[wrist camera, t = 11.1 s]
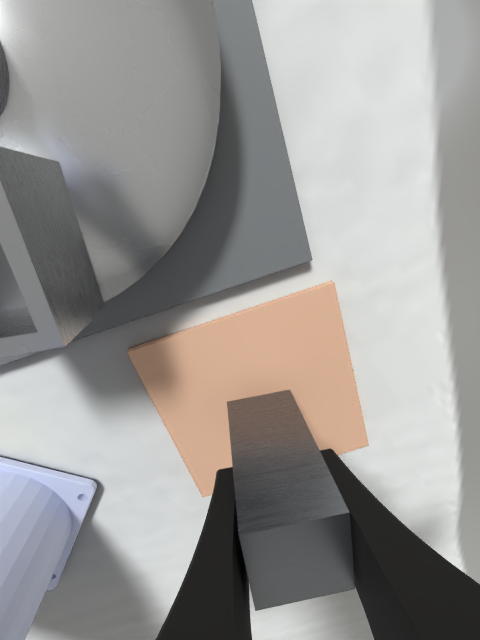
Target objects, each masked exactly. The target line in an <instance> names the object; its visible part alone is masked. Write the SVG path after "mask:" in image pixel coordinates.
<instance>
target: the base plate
mask: <svg viewBox="0 0 480 640" xmlns="http://www.w3.org/2000/svg"><path fill="white" fill-rule="evenodd" d="M214 5H215V11H216V17H217V22H218V34H219V47H220V60H221V88H220V113H219V125H218V132H217V139H216V146H215V153H214V157H213V161H212V165H211V169H210V172H209V176H208V180H207V183H206V186H205V188H204V191H203V193H202V196H201V198H200V200H199V203H198V205H197V208H196V210H195V211H194V213H193V215H192V217H191V218H190V220H189V222H188V224H187V225H186V227H185V229H184V231H183V232H182V233H181V234H180V236H179V237H178V238H177V240H176V241H175V242H174V244H173V245H172V246H171V247H170V249H169V250H168V251H167V252H166V253H165V254H164V256H163V257H162V258H161V259H160V260H159V261H158V262H157V263H156V264H155V265H154V266H153V267H152V268H151V269H150V270H149V271H148V272H147V273H146V274H145V275H144V276H143V277H141V278H140V279H139V280H138V281H136V282H135V283H134V284H132V285H131V286H129V287H128V288H127V289H125V290H124V291H123V292H121V293H120V294H118V295H116V296H115V297H113V298H111V299H109V300H107V301H105V302H104V304H105V308H104V309H103V310H102V311H101V312H100V313H99V314H98V315H97V316H96V317H95V318H94V319H93V320H92V321H91V322H90V323H89V324H88V325H87V326H86V327H85V328H84V329H83V330H82V331H81V332H80V333H79V334H78V335H77V336H76V337H75V338H74V339H73V340H72V341H74V340H77V339H80V338H83V337H86V336H89V335H92V334H95V333H98V332H101V331H104V330H106V329H109V328H112V327H115V326H118V325H121V324H124V323H127V322H130V321H133V320H136V319H139V318H142V317H145V316H148V315H151V314H154V313H157V312H160V311H163V310H166V309H169V308H172V307H175V306H177V305H180V304H183V303H186V302H189V301H192V300H195V299H198V298H201V297H204V296H207V295H210V294H213V293H216V292H219V291H222V290H225V289H228V288H231V287H234V286H237V285H240V284H243V283H246V282H249V281H251V280H254V279H257V278H260V277H263V276H266V275H269V274H272V273H275V272H278V271H281V270H284V269H287V268H290V267H293V266H296V265H299V264H302V263H305V262H308V261H311V260H312V256H311V252H310V248H309V243H308V239H307V235H306V230H305V226H304V222H303V218H302V213H301V209H300V205H299V200H298V196H297V192H296V188H295V183H294V179H293V175H292V170H291V166H290V162H289V157H288V153H287V149H286V145H285V140H284V136H283V132H282V127H281V123H280V119H279V114H278V110H277V106H276V102H275V97H274V93H273V89H272V84H271V80H270V76H269V71H268V67H267V63H266V59H265V54H264V50H263V46H262V41H261V37H260V33H259V29H258V24H257V20H256V16H255V11H254V7H253V3H252V0H214ZM43 351H44V350H43ZM38 352H41V351H37V352H31V353H25V354H19V355H12V356H6V357H0V365H3V364H6V363H9V362H12V361H15V360H18V359H21V358H24V357H27V356H30V355H32V354H35V353H38Z"/></svg>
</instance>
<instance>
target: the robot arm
mask: <svg viewBox="0 0 480 640" xmlns="http://www.w3.org/2000/svg"><path fill="white" fill-rule="evenodd" d="M320 452H321V454H322V457H323V459H324V461H325V463H326V465H327V467H328V469H329V471H330V473H331V475H332V477H333V479H334V481H335V483H336V485H337V487H338V489H339V492H340V494H341V496H342V498H343V500H344V502H345V504H346V506H347V508H348V510H349V512H350V525H351V538H352V552H353V566H354V579H355V587H356V589H357V592H358V594H359V597H360V599H361V602H362V605H363V607H364V610H365V613H366V616H367V619H368V622H369V625H370V628H371V631H372V634H373V636H374V639H375V640H480V584H478V583H477V582H475V581H474V580H473V579H472V578H470V577H469V576H467V575H466V574H465V573H463V572H462V571H461V570H459V569H458V568H457V567H455V566H454V565H452V564H451V563H450V562H448V561H447V560H446V559H445V558H443V557H442V556H441V555H440V554H438V553H437V552H436V551H435V550H433V549H432V548H431V547H430V546H428V545H427V544H426V543H425V542H424V541H422V540H421V539H420V538H419V537H418V536H416V535H415V534H414V533H413V532H412V531H411V530H409V529H408V528H407V527H406V526H405V525H404V524H403V523H402V522H400V521H399V520H398V519H397V518H396V517H395V516H394V515H393V514H392V513H391V512H390V511H389V510H388V509H387V508H386V507H385V506H383V505H382V504H381V503H380V502H379V501H378V500H377V499H376V498H375V497H374V495H373V494H372V493H371V492H370V491H369V490H368V489H367V488H366V487H365V486H364V485H363V484H362V483H361V482H360V481H359V480H358V479H357V478H356V476H355V475H354V474H353V473H352V472H351V471H350V470H349V469H348V467H347V466H346V465H345V464H344V463H343V462H342V460H341V459H340V458H339V457H338V455H337V454H336V453H335V452H334V450H332V449H331V448H330V449H325V450H320ZM96 489H97V484H96V483H95V482H94V481H93V480H91V479H87V478H83V477H79V476H75V475H71V474H67V473H63V472H59V471H55V470H51V469H47V468H43V467H39V466H35V465H31V464H27V463H23V462H19V461H15V460H11V459H7V458H3V457H0V640H25V639H26V636H27V634H28V632H29V629H30V627H31V625H32V622H33V620H34V618H35V615H36V613H37V611H38V608H39V606H40V604H41V601H42V599H43V597H44V594H45V592H46V591H51V590H53V589H55V588H56V586H57V584H58V581H59V579H60V576H61V574H62V572H63V569H64V567H65V564H66V562H67V559H68V557H69V555H70V552H71V550H72V547H73V545H74V542H75V540H76V537H77V535H78V533H79V530H80V528H81V525H82V523H83V520H84V518H85V515H86V513H87V511H88V508H89V506H90V503H91V501H92V498H93V496H94V493H95V491H96ZM84 494H85V495H84ZM156 640H252V635H251V623H250V605H249V579H248V575H247V570H246V566H245V561H244V557H243V552H242V548H241V543H240V539H239V532H238V521H237V510H236V499H235V488H234V477H233V467H229V468H224V469H219V470H218V471H217V472H216V479H215V485H214V489H213V494H212V498H211V502H210V506H209V509H208V513H207V516H206V520H205V523H204V526H203V529H202V533H201V535H200V538H199V541H198V544H197V547H196V550H195V552H194V555H193V558H192V561H191V563H190V566H189V568H188V571H187V573H186V576H185V578H184V580H183V583H182V585H181V587H180V590H179V592H178V594H177V597H176V599H175V601H174V603H173V605H172V607H171V609H170V612H169V614H168V616H167V618H166V620H165V622H164V624H163V626H162V628H161V630H160V632H159V634H158V636H157V638H156Z"/></svg>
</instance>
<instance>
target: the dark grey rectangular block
mask: <svg viewBox="0 0 480 640" xmlns="http://www.w3.org/2000/svg"><path fill="white" fill-rule="evenodd" d="M227 410H228V421H229V432H230V443H231V454H232V466H233V477H234V488H235V499H236V510H237V521H238V532H239V539H240V543H241V548H242V552H243V557H244V561H245V566H246V570H247V575H248V579H249V584H250V588H251V593H252V597H253V602H254V606H255V611H257V610H262V609H266V608H271V607H275V606H280V605H284V604H289V603H293V602H298V601H302V600H307V599H311V598H316V597H321V596H325V595H330V594H334V593H339V592H343V591H348V590H352V589H355V579H354V566H353V552H352V538H351V525H350V512H349V510H348V508H347V506H346V504H345V502H344V500H343V498H342V496H341V494H340V492H339V489H338V487H337V485H336V483H335V481H334V479H333V477H332V475H331V473H330V471H329V469H328V467H327V465H326V463H325V461H324V459H323V457H322V454H321V452H320V450H319V448H318V446H317V444H316V442H315V440H314V438H313V436H312V434H311V432H310V430H309V428H308V426H307V424H306V421H305V419H304V417H303V415H302V413H301V411H300V409H299V407H298V405H297V403H296V401H295V399H294V397H293V395H292V393H291V391H290V390H284V391H279V392H274V393H269V394H264V395H259V396H254V397H248V398H243V399H238V400H233V401H228V402H227Z"/></svg>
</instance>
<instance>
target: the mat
mask: <svg viewBox="0 0 480 640" xmlns="http://www.w3.org/2000/svg"><path fill="white" fill-rule="evenodd" d="M127 354H128V356H129V358H130V360H131V362H132V364H133V366H134V368H135V369H136V371H137V373H138V375H139V377H140V379H141V381H142V383H143V385H144V387H145V388H146V390H147V392H148V394H149V396H150V398H151V400H152V402H153V404H154V406H155V407H156V409H157V411H158V413H159V415H160V417H161V419H162V421H163V423H164V425H165V427H166V428H167V430H168V432H169V434H170V436H171V438H172V440H173V442H174V444H175V446H176V447H177V449H178V451H179V453H180V455H181V457H182V459H183V461H184V463H185V465H186V466H187V468H188V470H189V472H190V474H191V476H192V478H193V480H194V482H195V484H196V486H197V487H198V489H199V491H200V493H201V495H202V497H206V496H209V495H212V494H213V489H214V485H215V479H216V472H217V471H218V470H219V469H224V468H229V467H233V466H232V454H231V443H230V432H229V421H228V410H227V402H228V401H233V400H238V399H243V398H248V397H254V396H259V395H264V394H269V393H274V392H279V391H284V390H290V391H291V393H292V395H293V397H294V399H295V401H296V403H297V405H298V407H299V409H300V411H301V413H302V415H303V417H304V419H305V421H306V424H307V426H308V428H309V430H310V432H311V434H312V436H313V438H314V440H315V442H316V444H317V446H318V448H319V450H325V449H330V448H331V449H332V450H334V452H335V453H336V454H337V455H340V454H343V453H346V452H349V451H352V450H356V449H359V448H362V447H365V446H368V445H369V444H368V439H367V435H366V430H365V425H364V420H363V416H362V411H361V406H360V401H359V397H358V392H357V387H356V382H355V378H354V373H353V368H352V363H351V359H350V354H349V349H348V344H347V340H346V335H345V330H344V326H343V321H342V316H341V311H340V307H339V302H338V297H337V292H336V288H335V283H334V282H332V281H330V282H327V283H324V284H321V285H318V286H315V287H312V288H309V289H306V290H303V291H300V292H297V293H294V294H291V295H288V296H285V297H282V298H279V299H276V300H273V301H270V302H267V303H264V304H261V305H258V306H255V307H252V308H249V309H246V310H243V311H240V312H237V313H234V314H231V315H228V316H225V317H222V318H219V319H216V320H213V321H210V322H207V323H204V324H201V325H198V326H195V327H192V328H189V329H186V330H183V331H180V332H177V333H174V334H171V335H168V336H165V337H162V338H159V339H156V340H153V341H150V342H147V343H144V344H141V345H138V346H135V347H132V348H129V349H128V351H127Z"/></svg>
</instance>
